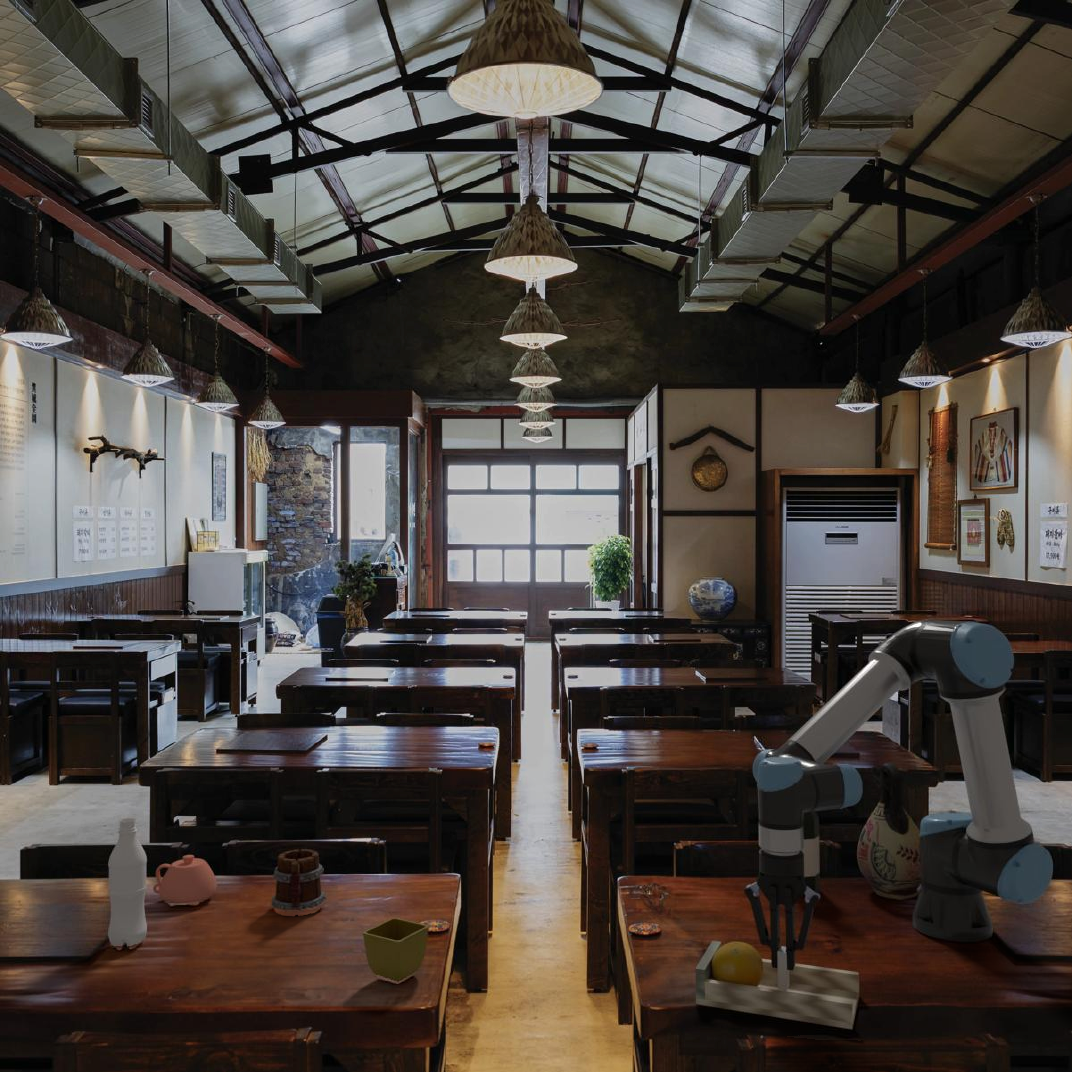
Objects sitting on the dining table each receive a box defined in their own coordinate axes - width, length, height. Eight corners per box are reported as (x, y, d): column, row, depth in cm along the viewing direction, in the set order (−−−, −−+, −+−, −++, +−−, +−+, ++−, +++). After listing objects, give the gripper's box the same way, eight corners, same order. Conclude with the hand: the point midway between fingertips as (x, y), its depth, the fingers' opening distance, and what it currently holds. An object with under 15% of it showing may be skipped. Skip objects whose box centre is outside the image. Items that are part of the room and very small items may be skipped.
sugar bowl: (206, 911, 220) (206, 864, 220) (142, 911, 220) (142, 864, 220) (224, 892, 232) (224, 847, 232) (164, 892, 232) (164, 848, 232)
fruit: (712, 999, 171) (712, 951, 171) (711, 979, 179) (710, 934, 179) (765, 1002, 170) (765, 954, 170) (762, 982, 178) (761, 936, 178)
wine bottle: (821, 896, 225) (819, 762, 225) (783, 894, 226) (781, 761, 227) (818, 884, 233) (816, 755, 234) (781, 882, 235) (779, 754, 235)
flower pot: (399, 992, 177) (398, 941, 177) (361, 982, 182) (361, 931, 182) (430, 974, 185) (429, 925, 185) (393, 965, 189) (393, 917, 189)
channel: (859, 995, 174) (858, 960, 174) (852, 1029, 162) (851, 991, 162) (713, 973, 184) (712, 940, 184) (695, 1003, 171) (695, 968, 171)
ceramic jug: (849, 882, 234) (847, 753, 235) (915, 882, 234) (913, 753, 235) (871, 907, 217) (868, 769, 218) (943, 907, 217) (940, 768, 218)
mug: (328, 895, 228) (327, 833, 226) (324, 928, 214) (323, 862, 212) (275, 898, 226) (273, 835, 224) (268, 932, 212) (266, 866, 210)
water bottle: (154, 942, 201) (154, 817, 202) (126, 955, 195) (126, 826, 196) (128, 937, 204) (128, 814, 205) (99, 949, 198) (100, 822, 199)
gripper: (823, 847, 174) (825, 984, 173) (747, 840, 179) (750, 973, 178) (817, 859, 167) (819, 1002, 166) (739, 851, 172) (741, 990, 172)
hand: (783, 987), depth 172 cm, fingers closed
